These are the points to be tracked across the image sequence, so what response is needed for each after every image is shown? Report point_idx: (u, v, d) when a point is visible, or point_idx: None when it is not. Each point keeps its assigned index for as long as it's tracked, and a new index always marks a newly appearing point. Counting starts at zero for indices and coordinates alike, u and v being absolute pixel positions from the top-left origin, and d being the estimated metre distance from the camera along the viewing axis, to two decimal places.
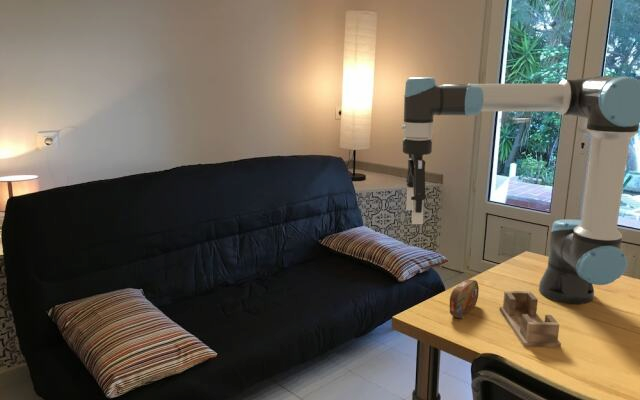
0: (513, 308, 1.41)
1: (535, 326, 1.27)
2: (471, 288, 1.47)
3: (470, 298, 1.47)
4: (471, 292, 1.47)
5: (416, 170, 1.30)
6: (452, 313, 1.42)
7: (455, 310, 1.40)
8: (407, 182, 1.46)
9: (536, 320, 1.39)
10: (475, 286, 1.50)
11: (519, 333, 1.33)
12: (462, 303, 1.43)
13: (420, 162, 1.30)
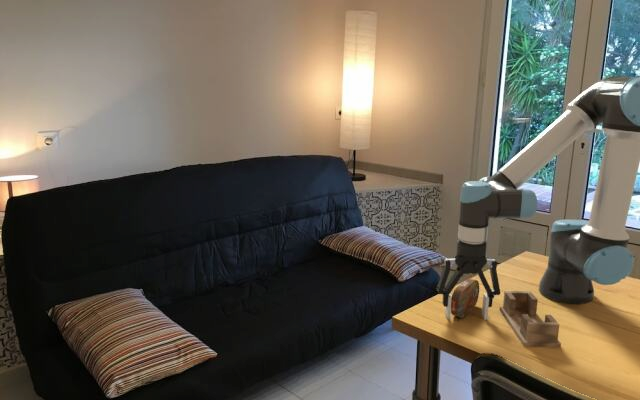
0: (513, 308, 1.41)
1: (535, 326, 1.27)
2: (472, 288, 1.47)
3: (471, 297, 1.47)
4: (472, 292, 1.47)
5: (444, 266, 1.41)
6: (453, 313, 1.41)
7: (456, 310, 1.40)
8: None
9: (536, 320, 1.39)
10: (476, 286, 1.50)
11: (519, 333, 1.33)
12: (463, 303, 1.43)
13: (444, 260, 1.39)
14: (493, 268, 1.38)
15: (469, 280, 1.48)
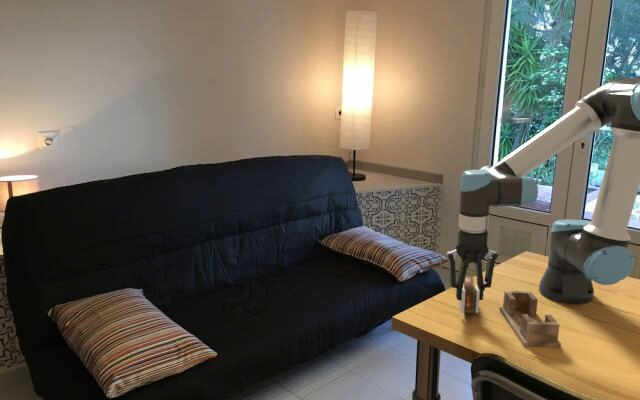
0: (513, 308, 1.41)
1: (535, 326, 1.27)
2: None
3: None
4: None
5: None
6: (467, 309, 1.41)
7: (471, 305, 1.40)
8: None
9: (536, 320, 1.39)
10: None
11: (519, 333, 1.33)
12: None
13: (447, 254, 1.39)
14: (492, 260, 1.38)
15: (468, 276, 1.50)
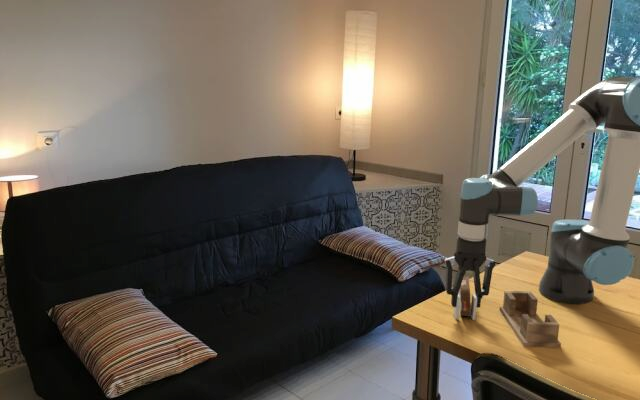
0: (513, 308, 1.41)
1: (535, 326, 1.27)
2: None
3: None
4: None
5: (446, 266, 1.41)
6: (464, 313, 1.42)
7: (468, 309, 1.41)
8: None
9: (536, 320, 1.39)
10: None
11: (519, 333, 1.33)
12: None
13: None
14: (490, 268, 1.38)
15: (463, 278, 1.50)
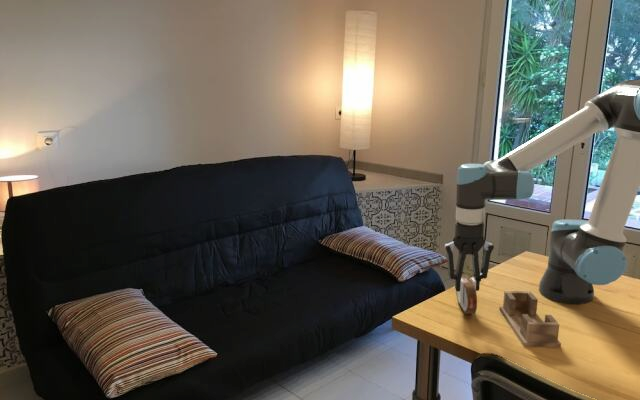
0: (513, 308, 1.41)
1: (535, 326, 1.27)
2: None
3: None
4: None
5: None
6: (469, 310, 1.41)
7: (474, 306, 1.40)
8: None
9: (536, 320, 1.39)
10: None
11: (519, 333, 1.33)
12: None
13: (444, 246, 1.42)
14: (488, 251, 1.41)
15: (463, 276, 1.49)
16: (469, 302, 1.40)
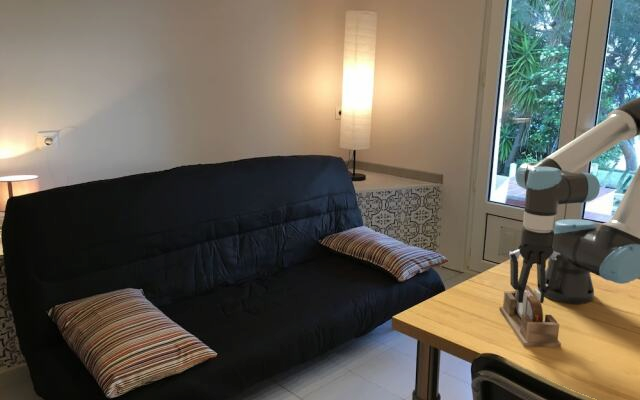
0: (513, 308, 1.41)
1: (535, 326, 1.27)
2: None
3: None
4: None
5: (510, 260, 1.34)
6: None
7: None
8: None
9: None
10: None
11: (519, 333, 1.33)
12: None
13: (509, 254, 1.33)
14: (556, 261, 1.32)
15: None
16: (534, 319, 1.30)
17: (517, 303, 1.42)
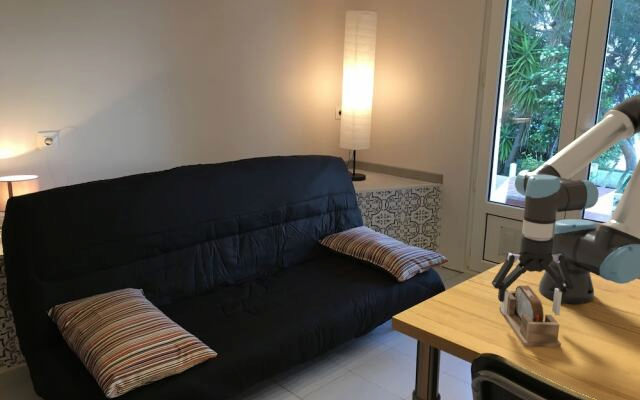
0: (513, 308, 1.41)
1: (535, 326, 1.27)
2: None
3: None
4: None
5: (505, 261, 1.34)
6: None
7: None
8: None
9: None
10: None
11: (519, 333, 1.33)
12: None
13: (508, 255, 1.33)
14: (561, 263, 1.32)
15: (525, 287, 1.39)
16: (535, 319, 1.30)
17: (517, 303, 1.42)
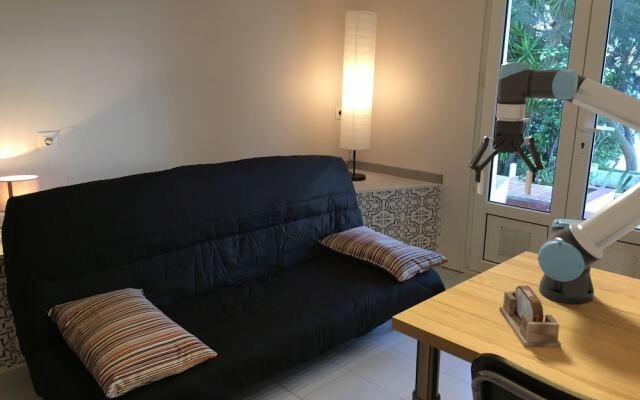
0: (513, 308, 1.41)
1: (535, 326, 1.27)
2: None
3: None
4: None
5: (481, 144, 1.47)
6: None
7: None
8: None
9: None
10: None
11: (519, 333, 1.33)
12: None
13: (484, 137, 1.46)
14: (531, 144, 1.45)
15: (525, 287, 1.39)
16: (535, 319, 1.30)
17: (517, 303, 1.42)
